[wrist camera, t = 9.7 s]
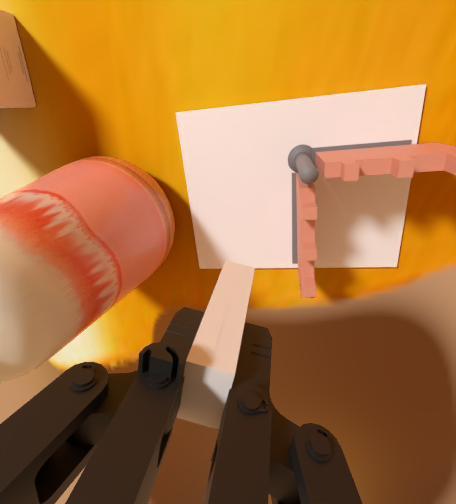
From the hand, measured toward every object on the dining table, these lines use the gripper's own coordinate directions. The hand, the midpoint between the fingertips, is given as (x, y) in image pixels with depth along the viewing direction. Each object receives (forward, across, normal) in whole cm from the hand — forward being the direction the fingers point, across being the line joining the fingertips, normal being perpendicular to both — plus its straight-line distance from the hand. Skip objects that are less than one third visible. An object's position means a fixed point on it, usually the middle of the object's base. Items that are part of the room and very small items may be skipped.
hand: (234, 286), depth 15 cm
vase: (+20, -16, -6) cm, 26 cm away
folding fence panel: (+19, +5, -2) cm, 20 cm away
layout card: (+20, +3, +1) cm, 20 cm away
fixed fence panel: (+19, +9, +6) cm, 22 cm away
